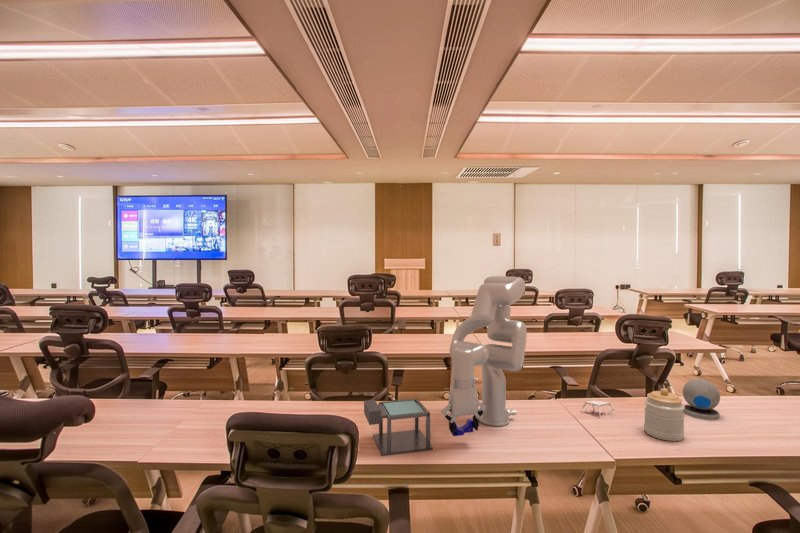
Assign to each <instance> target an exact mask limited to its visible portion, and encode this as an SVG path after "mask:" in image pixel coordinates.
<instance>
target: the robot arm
mask: <svg viewBox="0 0 800 533" xmlns="http://www.w3.org/2000/svg"><path fill="white" fill-rule="evenodd" d="M525 291H526V283H525V280H524V279H523V278H522V277H519V276H505V275H504V276H501V275H499V276H498V275H497V276H495V275H492V276H488V277H486V278H485V279H484V280H483V284H481V285H480V286H479V287H478V290H477V293H476V297H475V300H474V303H473V308H472V311H471V315H470V316H469V317H467V318H466V319H465V320H463V321H462V322H461V323H460V324H459V325H458V327H457V328H456V329H455V331H454V333H453V336H452V339H451V341H450V345H449V356H450V357H451V359H452V385H450V387H449V393H448V394H449V395H448V404H447V405H446V406H444V407H443V408H442V409H441V411H440V412H441V413H442V415H443V417H444V418H445V419H446V420H447V421H448V430H449V431H451V432H452V433H453V434H455V423H456V422H455V423H454V421H455V420H456V419H457V417H462V416H469V415H470V416H471V415H473V416H472V421H473V430H475V431H478V430H479V427H480V423H481V424H483V425H486V426H491V427H503V426H506V425H508V424H510V416H517V410H515V409H512V410H511V409H510V408H507V407H506V403H507V401H506V400H507V399H506V397H507V396H506V395H507V387H506V386H507V381H506V380H507V379H506V376H505V374H504V372H503V370H505V371H511V372H518V371H520V370H522V369H523V365H524V361H525V355H526V354H525V353H526V344H527V337H528V336H527V333H528V332H527V326H526V324H525V323H524V322H523V321H521V320H516V319H511V313H512V312H511V311H512V309H511V306H512V305H514V304H515V303H516V302H518V301H519V300H520V299H521V298H522V297H523V296H524V294H525ZM485 327H487V331H486V332H487V333H486V334H487V338H488V339H489V340H491V341H494V342H497V343H498V342H499V343H507V344H511V346H509V345H505V344H504V345H503V344H496V343H494V344H493V343H486V344H482V343H477V342H470V341H464V340H465V338H466V337H467V336H468V335H469V334H471V333H472V332H475V331H476V330H480V329H482V328H485ZM476 366H477V367H478V366H481V376H482V377H481V378H482V380H481V388H482V389H481V402H480V401H479V396H478V390H477V386H476V383H477V382H478V378H477V377H475V367H476ZM479 407H480V408H479ZM506 408H507V409H506ZM448 412H450V413H449V414H448ZM451 432H450V433H451Z"/></svg>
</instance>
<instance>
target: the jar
mask: <svg viewBox="0 0 800 533" xmlns="http://www.w3.org/2000/svg"><path fill="white" fill-rule="evenodd" d="M646 396H647V397H646V398H644V403H645V407H644V410H643V411H644V423H643V427H644V432H645V433H646V434H647V435H649V436H651V437H653V438H656V439H659V440H663V441H668V442H679V441H682V440H684V437H685V413H684V412H683V410H684V409H685V406H684V404H683V403H682V402H683V400H682V398H681V397H679V396H678V395H676V394H675V393H672V392H670V391H669V390H668V389H667V388H661V389H660V390H654V391H651V392H649V393H647V394H646Z"/></svg>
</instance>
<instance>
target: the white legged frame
mask: <svg viewBox="0 0 800 533" xmlns="http://www.w3.org/2000/svg"><path fill="white" fill-rule="evenodd" d="M586 405H591V406H592V409H593V410H592V412H595V411H596V409H595V406H596V407H598V418H601V416H602V415H601V414H602V407H605V406H609V407H610V408H612V409H611V410H609V411H608V414H609V415H610V416H612V414H611V413H612V412H613V411H615V410H616V409H615V407H614V406H613V405H612V404H611V402H606V401H601V400H600V401H598V400H589V401H584V404H583V405H582V409H583V410H584V411H585V413H587V412H588V410H587V409H586V408H585V407H586Z"/></svg>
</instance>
